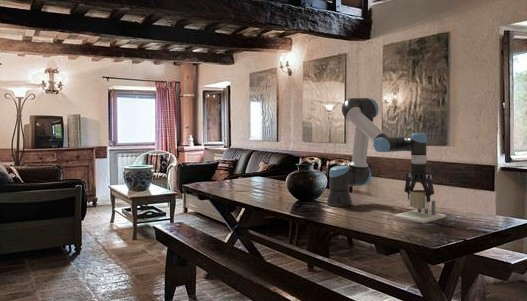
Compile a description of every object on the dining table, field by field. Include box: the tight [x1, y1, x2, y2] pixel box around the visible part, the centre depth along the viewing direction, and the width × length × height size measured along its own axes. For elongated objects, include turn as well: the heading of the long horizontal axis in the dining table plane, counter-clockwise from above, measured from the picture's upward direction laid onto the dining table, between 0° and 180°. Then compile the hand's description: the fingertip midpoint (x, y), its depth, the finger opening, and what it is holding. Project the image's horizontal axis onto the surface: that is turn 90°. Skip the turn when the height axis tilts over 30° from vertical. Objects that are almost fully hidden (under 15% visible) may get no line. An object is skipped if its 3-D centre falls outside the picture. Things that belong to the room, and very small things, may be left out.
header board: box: [392, 200, 447, 224], centre depth 223 cm, size 18×20×8 cm
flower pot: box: [409, 189, 426, 210], centre depth 222 cm, size 9×9×9 cm
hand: (418, 207), depth 222 cm, fingers closed on flower pot, 8 cm apart
